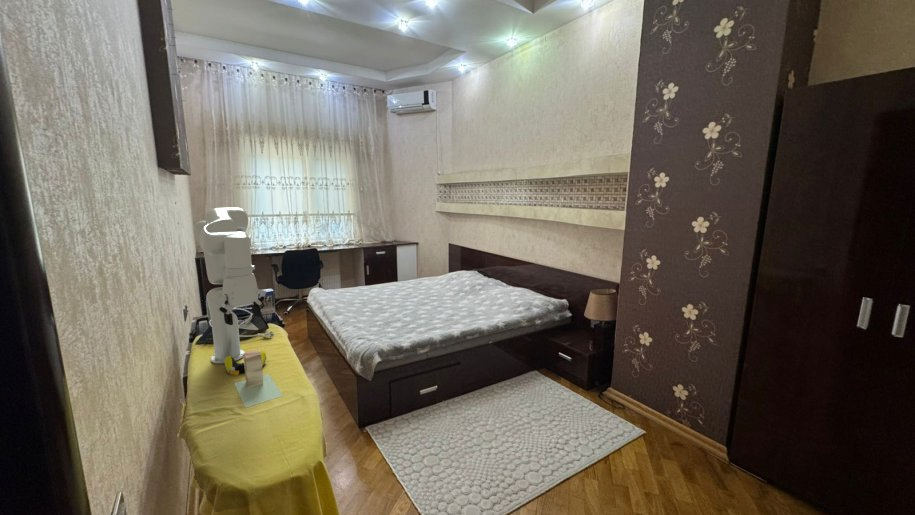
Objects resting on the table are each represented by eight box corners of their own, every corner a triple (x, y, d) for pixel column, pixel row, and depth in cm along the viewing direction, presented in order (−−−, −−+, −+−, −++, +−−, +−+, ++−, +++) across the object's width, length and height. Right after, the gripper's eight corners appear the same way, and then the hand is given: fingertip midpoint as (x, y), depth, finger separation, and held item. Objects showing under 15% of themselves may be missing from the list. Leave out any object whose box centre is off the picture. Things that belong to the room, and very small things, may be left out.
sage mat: (234, 384, 139) (234, 383, 139) (268, 375, 147) (268, 373, 147) (245, 409, 124) (245, 407, 124) (283, 397, 132) (283, 395, 132)
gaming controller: (226, 367, 152) (223, 378, 144) (224, 355, 151) (222, 365, 143) (266, 361, 159) (266, 371, 150) (265, 349, 158) (265, 358, 149)
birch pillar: (245, 382, 140) (243, 353, 138) (260, 378, 143) (258, 349, 141) (248, 388, 136) (245, 357, 134) (263, 383, 139) (261, 354, 137)
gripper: (256, 265, 133) (259, 310, 136) (205, 275, 118) (210, 325, 121) (270, 268, 130) (273, 314, 133) (219, 278, 115) (224, 330, 118)
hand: (243, 319), depth 127 cm, fingers open, 9 cm apart
